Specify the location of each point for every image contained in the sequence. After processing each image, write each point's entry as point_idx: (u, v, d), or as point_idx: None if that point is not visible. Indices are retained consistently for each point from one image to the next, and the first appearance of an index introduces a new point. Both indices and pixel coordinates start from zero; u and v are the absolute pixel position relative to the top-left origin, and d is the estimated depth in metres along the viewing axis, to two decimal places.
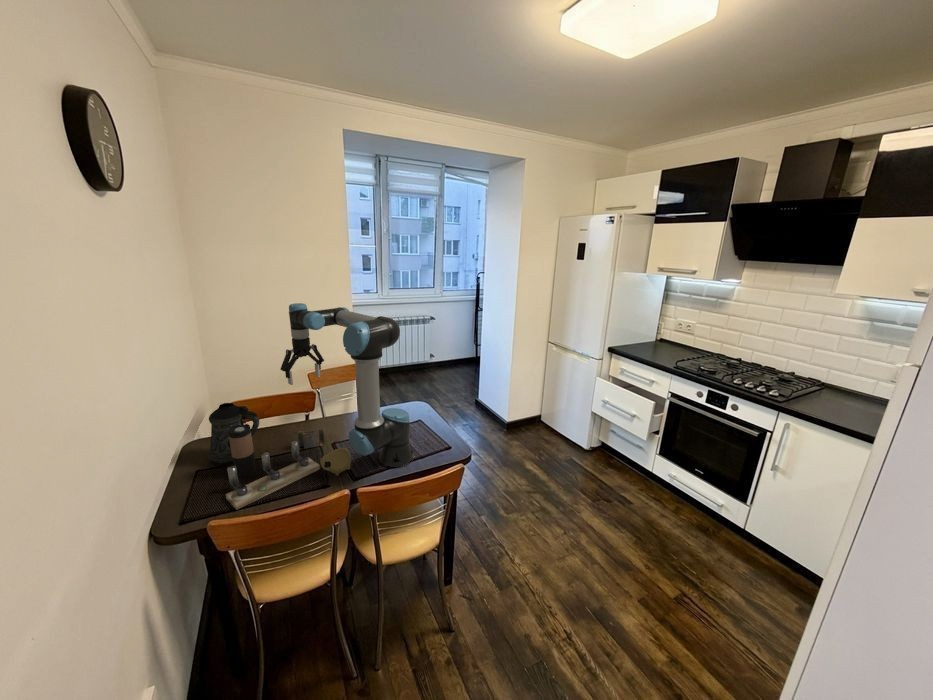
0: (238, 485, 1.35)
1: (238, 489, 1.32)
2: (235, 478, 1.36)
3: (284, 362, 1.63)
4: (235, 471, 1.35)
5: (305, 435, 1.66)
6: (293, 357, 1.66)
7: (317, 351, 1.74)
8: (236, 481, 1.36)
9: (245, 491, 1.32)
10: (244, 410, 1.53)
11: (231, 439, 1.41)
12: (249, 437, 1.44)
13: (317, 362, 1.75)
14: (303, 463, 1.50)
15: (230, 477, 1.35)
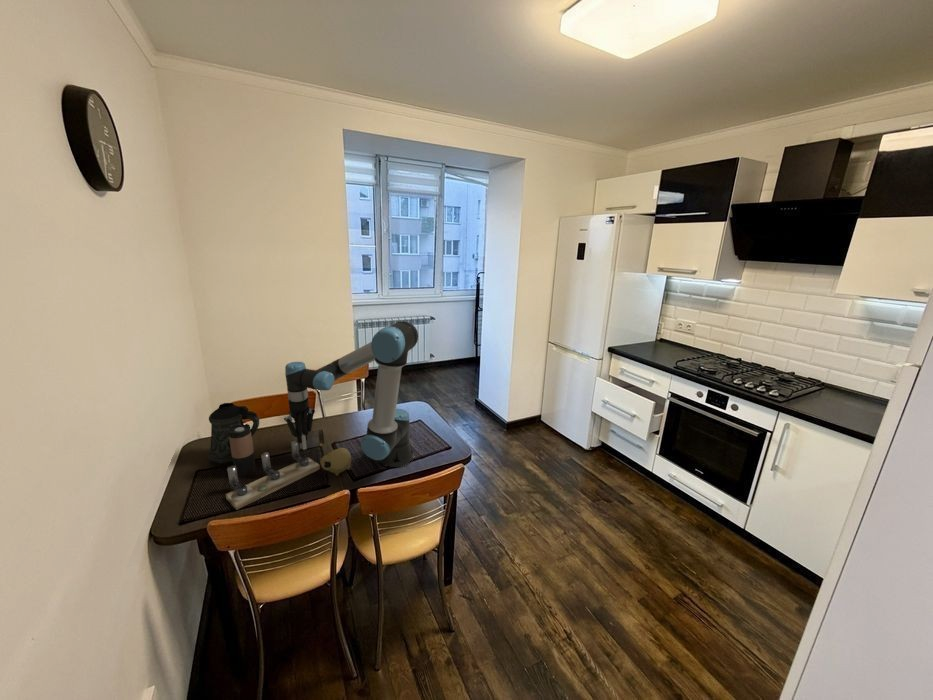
0: (238, 485, 1.35)
1: (238, 489, 1.32)
2: (235, 478, 1.36)
3: (291, 429, 1.51)
4: (235, 471, 1.35)
5: None
6: (296, 422, 1.52)
7: (311, 417, 1.56)
8: (236, 481, 1.36)
9: (245, 491, 1.32)
10: (244, 410, 1.53)
11: (231, 439, 1.41)
12: (249, 437, 1.44)
13: (304, 431, 1.55)
14: (303, 463, 1.50)
15: (230, 477, 1.35)
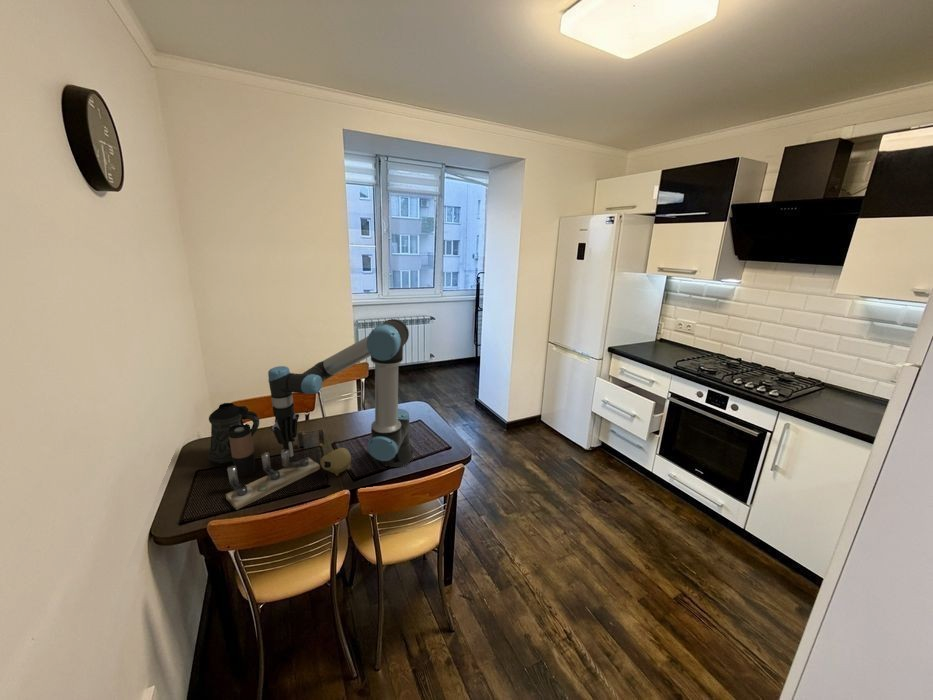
0: (238, 485, 1.35)
1: (238, 489, 1.32)
2: (235, 478, 1.36)
3: (278, 437, 1.45)
4: (235, 471, 1.35)
5: (305, 435, 1.65)
6: (282, 429, 1.46)
7: (296, 422, 1.52)
8: (236, 481, 1.36)
9: (245, 491, 1.32)
10: (244, 410, 1.53)
11: (231, 439, 1.41)
12: (249, 437, 1.44)
13: (290, 438, 1.50)
14: (307, 462, 1.51)
15: (230, 477, 1.35)
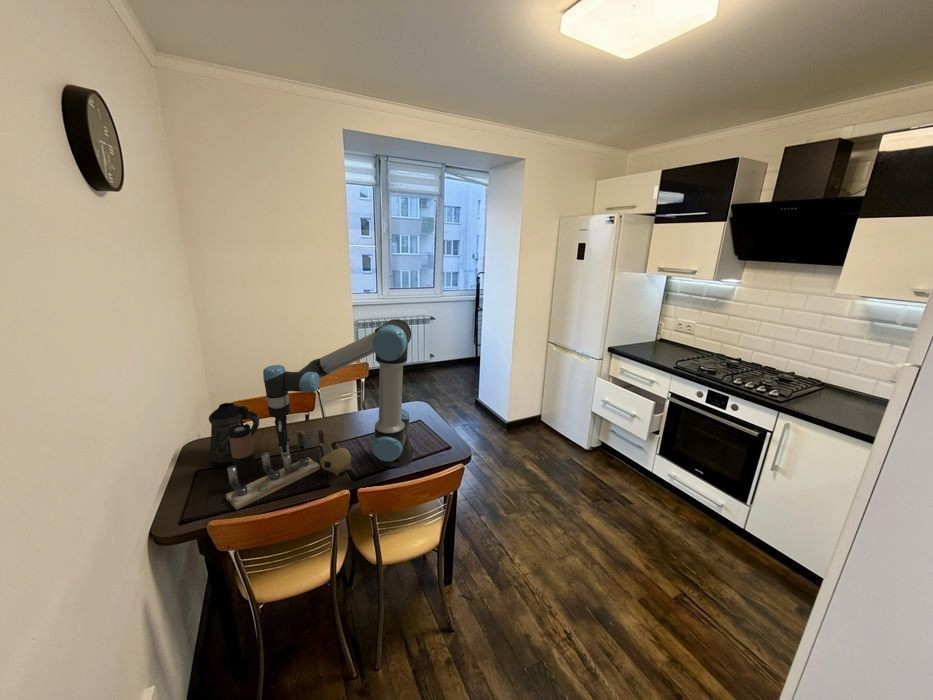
0: (238, 485, 1.35)
1: (238, 489, 1.32)
2: (235, 478, 1.36)
3: (282, 439, 1.40)
4: (235, 471, 1.35)
5: (305, 435, 1.65)
6: None
7: None
8: (236, 481, 1.36)
9: (245, 491, 1.32)
10: (244, 410, 1.53)
11: (231, 439, 1.41)
12: (249, 437, 1.44)
13: (286, 438, 1.46)
14: (308, 460, 1.51)
15: (230, 477, 1.35)
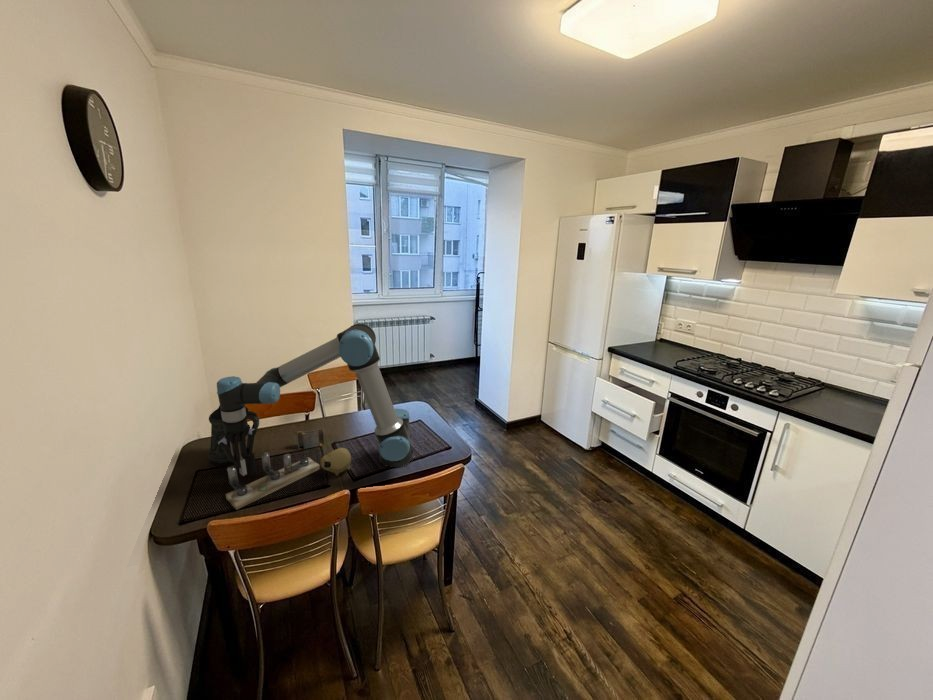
0: (238, 485, 1.35)
1: (238, 489, 1.32)
2: (235, 478, 1.36)
3: (226, 454, 1.32)
4: (235, 471, 1.35)
5: (305, 435, 1.65)
6: (232, 444, 1.34)
7: (252, 438, 1.38)
8: (236, 481, 1.36)
9: (245, 491, 1.32)
10: None
11: None
12: None
13: (243, 455, 1.37)
14: (308, 460, 1.51)
15: (230, 477, 1.35)
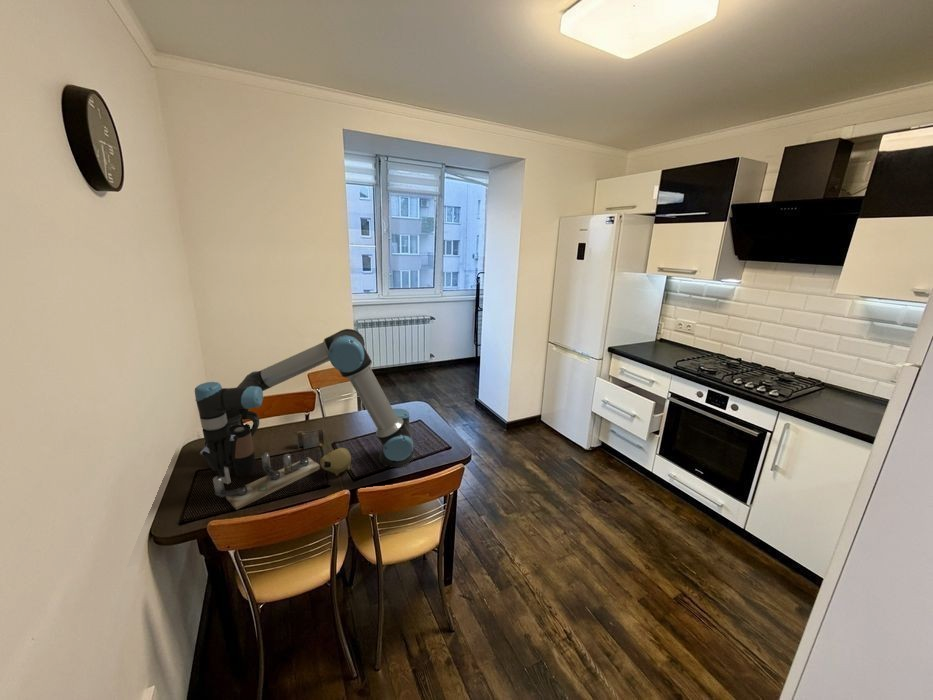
0: (230, 491, 1.32)
1: (240, 490, 1.32)
2: (223, 486, 1.31)
3: (209, 463, 1.27)
4: (222, 479, 1.30)
5: (305, 435, 1.65)
6: (215, 453, 1.28)
7: (234, 445, 1.33)
8: (224, 490, 1.31)
9: None
10: (244, 410, 1.53)
11: None
12: (249, 437, 1.44)
13: (226, 463, 1.31)
14: (308, 460, 1.51)
15: (220, 487, 1.29)
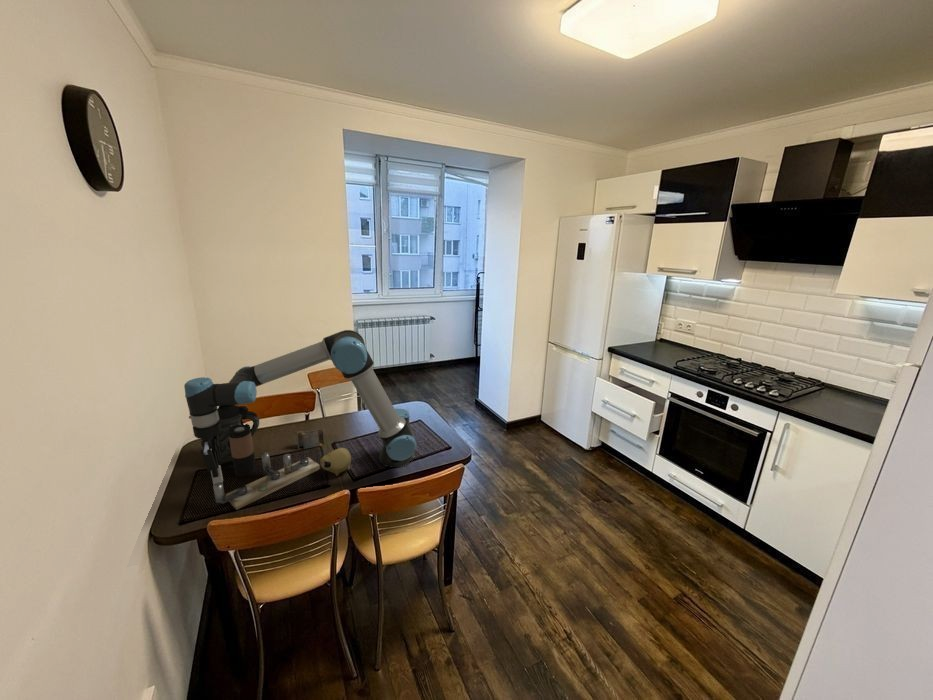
0: (230, 495, 1.30)
1: (242, 490, 1.32)
2: None
3: (210, 463, 1.21)
4: None
5: (305, 435, 1.65)
6: None
7: (218, 442, 1.29)
8: None
9: None
10: (244, 410, 1.53)
11: (231, 439, 1.41)
12: (249, 437, 1.44)
13: (218, 460, 1.27)
14: (308, 460, 1.51)
15: (223, 493, 1.26)
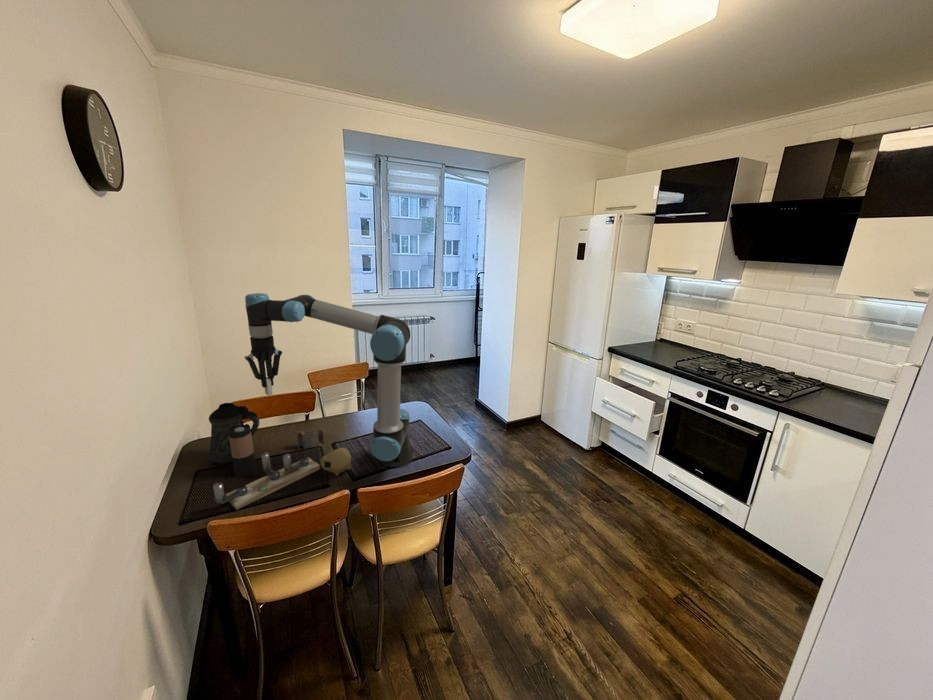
0: (230, 495, 1.30)
1: (242, 490, 1.32)
2: None
3: (253, 370, 1.34)
4: None
5: (304, 435, 1.65)
6: (259, 362, 1.36)
7: (278, 359, 1.40)
8: None
9: None
10: (244, 410, 1.53)
11: (231, 439, 1.41)
12: (249, 437, 1.44)
13: (269, 374, 1.39)
14: (308, 460, 1.51)
15: (223, 493, 1.26)
